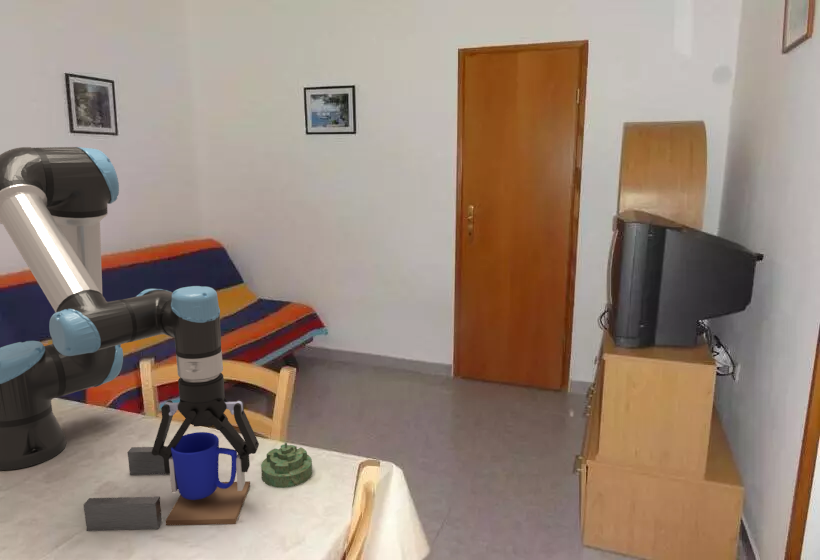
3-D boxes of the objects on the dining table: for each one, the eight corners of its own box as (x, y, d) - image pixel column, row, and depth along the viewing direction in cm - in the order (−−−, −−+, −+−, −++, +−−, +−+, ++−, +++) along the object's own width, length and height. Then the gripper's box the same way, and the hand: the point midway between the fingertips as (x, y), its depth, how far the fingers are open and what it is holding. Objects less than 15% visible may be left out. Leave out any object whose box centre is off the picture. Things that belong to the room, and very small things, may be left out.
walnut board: (187, 487, 115) (187, 482, 115) (250, 485, 116) (250, 481, 116) (165, 525, 104) (165, 520, 103) (235, 523, 104) (235, 518, 104)
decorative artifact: (254, 486, 116) (304, 489, 115) (252, 454, 115) (303, 456, 114) (271, 460, 126) (317, 463, 125) (269, 430, 124) (316, 432, 123)
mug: (227, 510, 104) (223, 458, 102) (165, 501, 107) (160, 450, 105) (249, 485, 112) (246, 436, 110) (191, 477, 115) (187, 429, 112)
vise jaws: (139, 462, 125) (137, 440, 123) (197, 461, 125) (196, 439, 124) (86, 530, 102) (83, 504, 101) (157, 529, 103) (155, 503, 102)
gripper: (123, 384, 100) (135, 500, 105) (264, 382, 101) (269, 497, 106) (140, 367, 107) (151, 477, 112) (272, 366, 109) (277, 475, 113)
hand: (208, 487), depth 109 cm, fingers closed on mug, 11 cm apart
